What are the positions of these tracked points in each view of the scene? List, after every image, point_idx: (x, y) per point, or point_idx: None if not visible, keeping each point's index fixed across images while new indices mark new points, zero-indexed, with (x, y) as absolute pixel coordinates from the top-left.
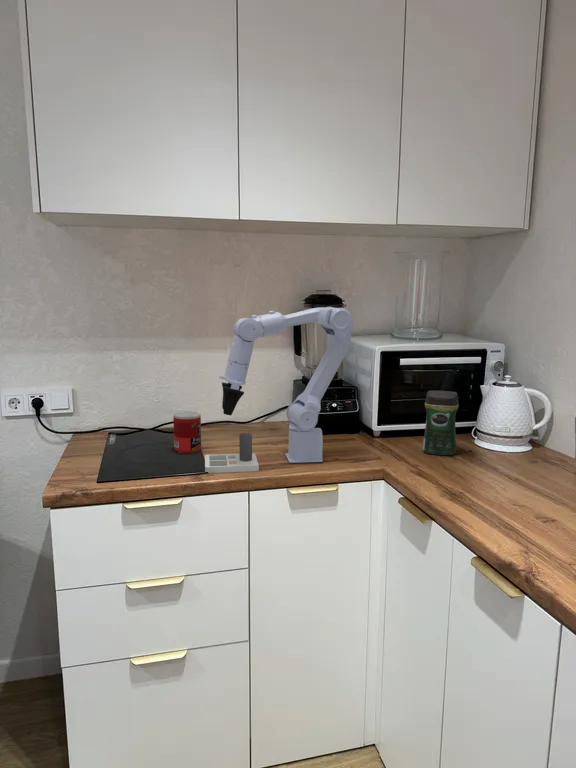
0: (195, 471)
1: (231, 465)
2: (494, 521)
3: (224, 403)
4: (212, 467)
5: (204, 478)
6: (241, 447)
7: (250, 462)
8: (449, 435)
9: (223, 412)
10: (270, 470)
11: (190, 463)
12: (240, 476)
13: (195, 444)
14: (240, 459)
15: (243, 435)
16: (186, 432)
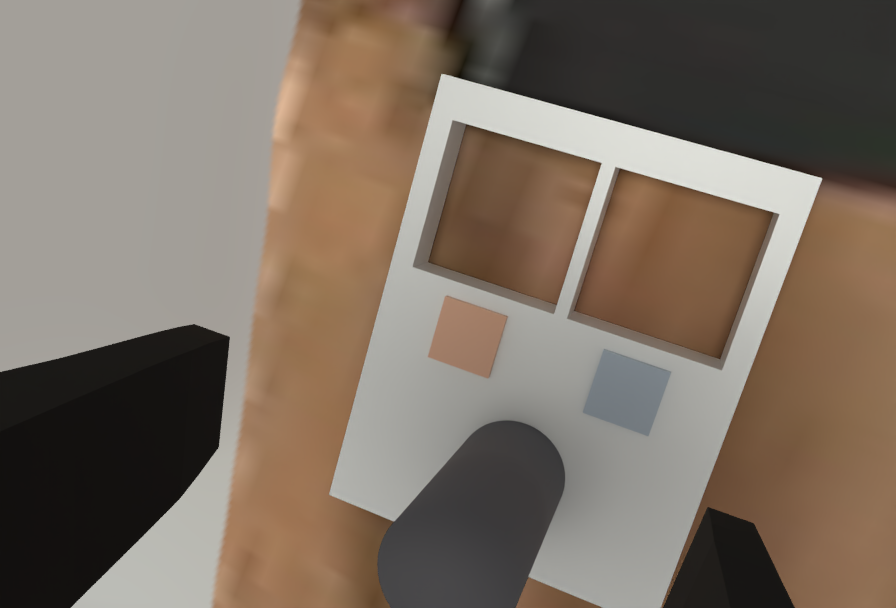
0: (535, 12)
1: (403, 300)
2: None
3: (18, 371)
4: (426, 137)
5: (345, 43)
6: (453, 463)
7: (419, 471)
8: None
9: (179, 327)
10: (337, 561)
11: (785, 20)
12: (294, 312)
13: None
14: (497, 423)
15: (423, 536)
16: None
